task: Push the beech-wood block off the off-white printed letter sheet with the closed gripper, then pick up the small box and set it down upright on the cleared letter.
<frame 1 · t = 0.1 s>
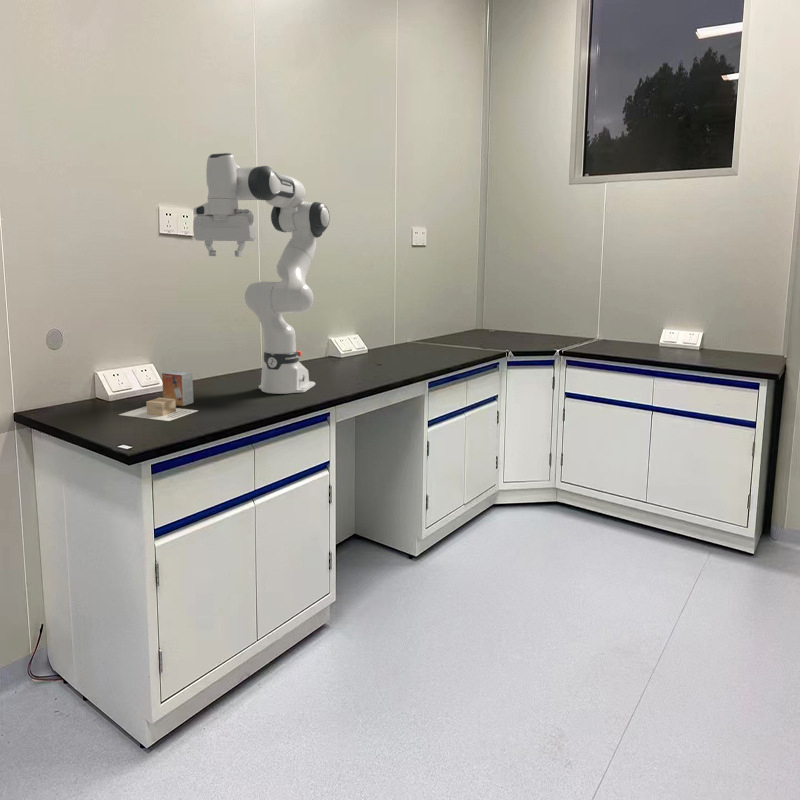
hand: (225, 256, 200), 48 cm above the worktop, fingers open, 8 cm apart
letter: (159, 413, 204), on the worktop
small box: (178, 404, 217), on the worktop
beech block: (161, 412, 203), resting on letter
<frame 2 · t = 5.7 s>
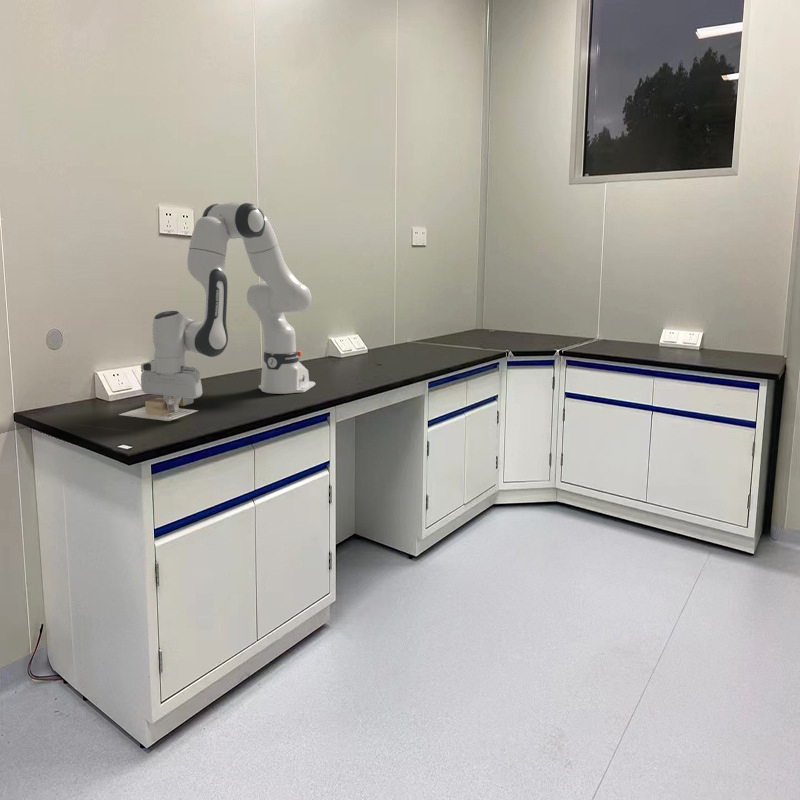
hand: (173, 409, 201), 2 cm above the worktop, fingers closed
beech block: (160, 412, 203), resting on letter, touching gripper
everything else where it was.
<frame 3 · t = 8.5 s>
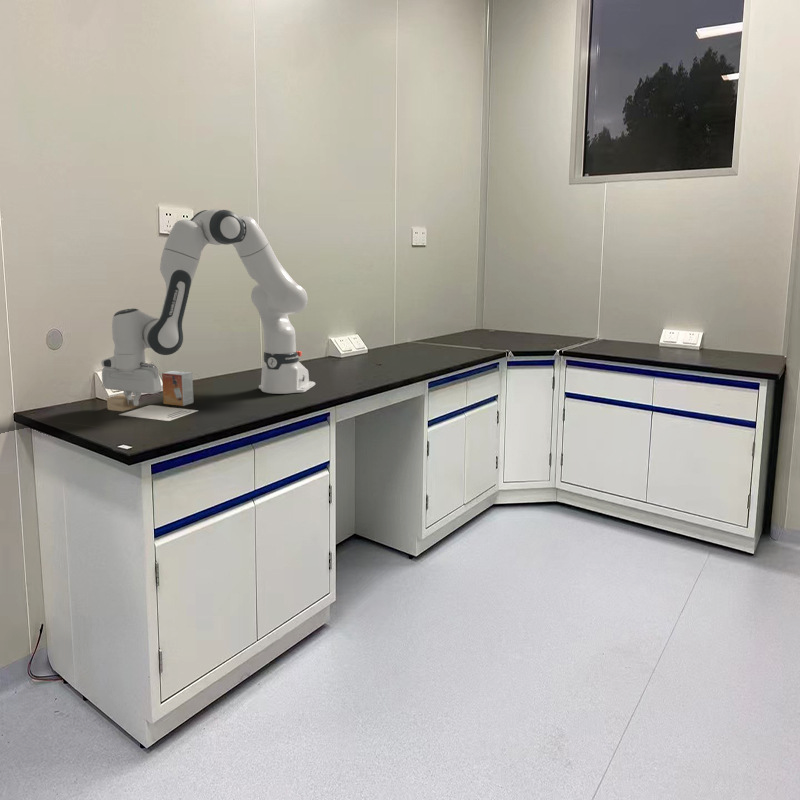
hand: (133, 405, 206), 2 cm above the worktop, fingers closed
beech block: (122, 409, 208), on the worktop, touching gripper
everything else where it was.
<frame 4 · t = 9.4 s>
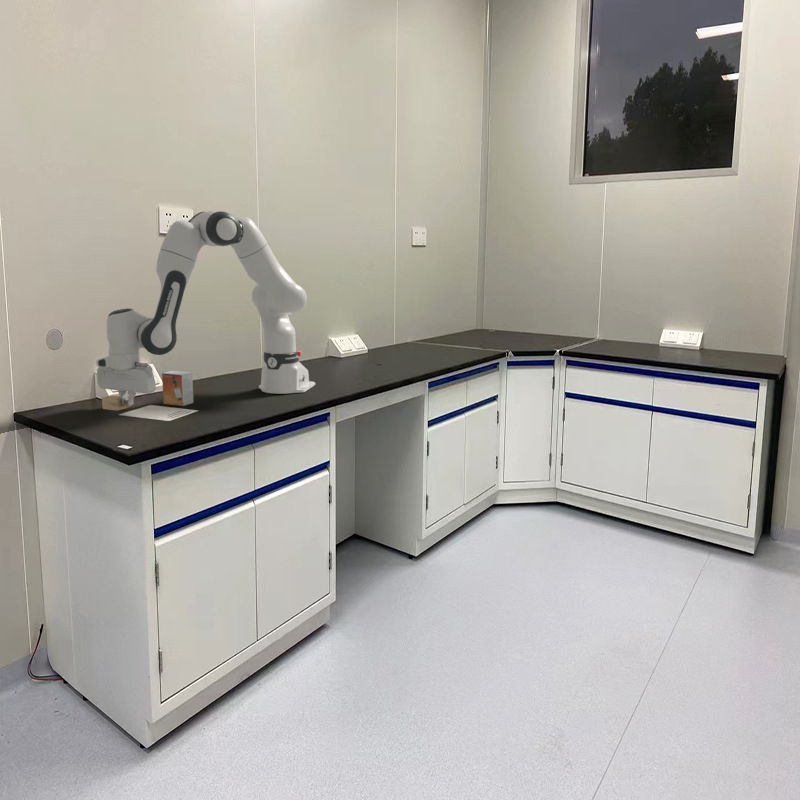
hand: (128, 404, 207), 2 cm above the worktop, fingers closed
beech block: (117, 409, 209), on the worktop, touching gripper
everything else where it was.
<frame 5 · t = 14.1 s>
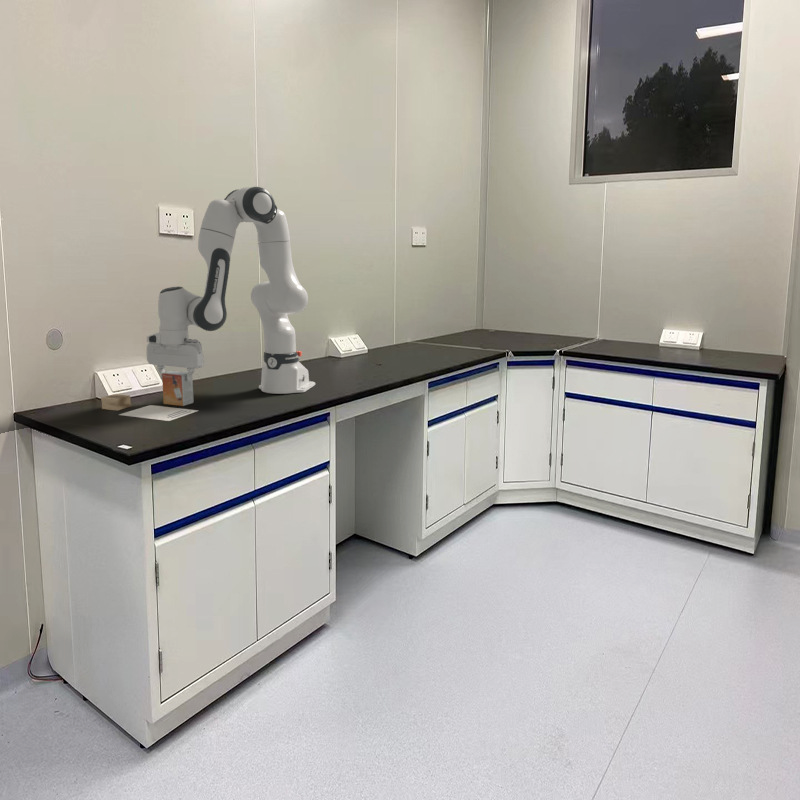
hand: (176, 379, 214), 8 cm above the worktop, fingers open, 8 cm apart
beech block: (116, 408, 209), on the worktop
everything else where it was.
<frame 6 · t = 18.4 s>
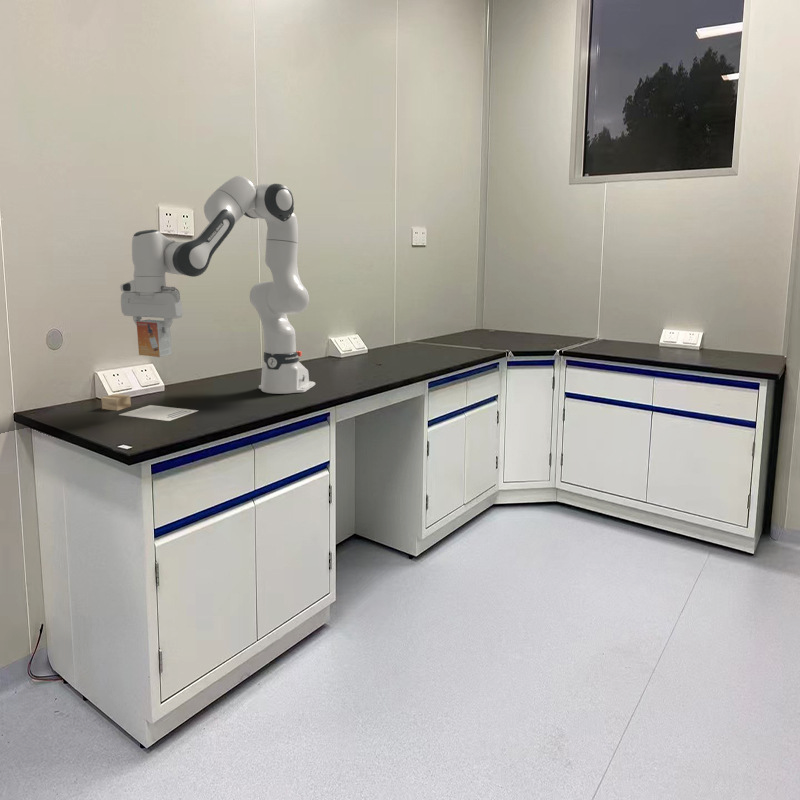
hand: (153, 332, 198), 25 cm above the worktop, fingers closed on small box, 8 cm apart
small box: (155, 355, 200), point 18 cm above the worktop, touching gripper
everything else where it was.
when the fingers open (9 cm above the worktop, at t = 21.9 s): small box drops 2 cm, resting on letter.
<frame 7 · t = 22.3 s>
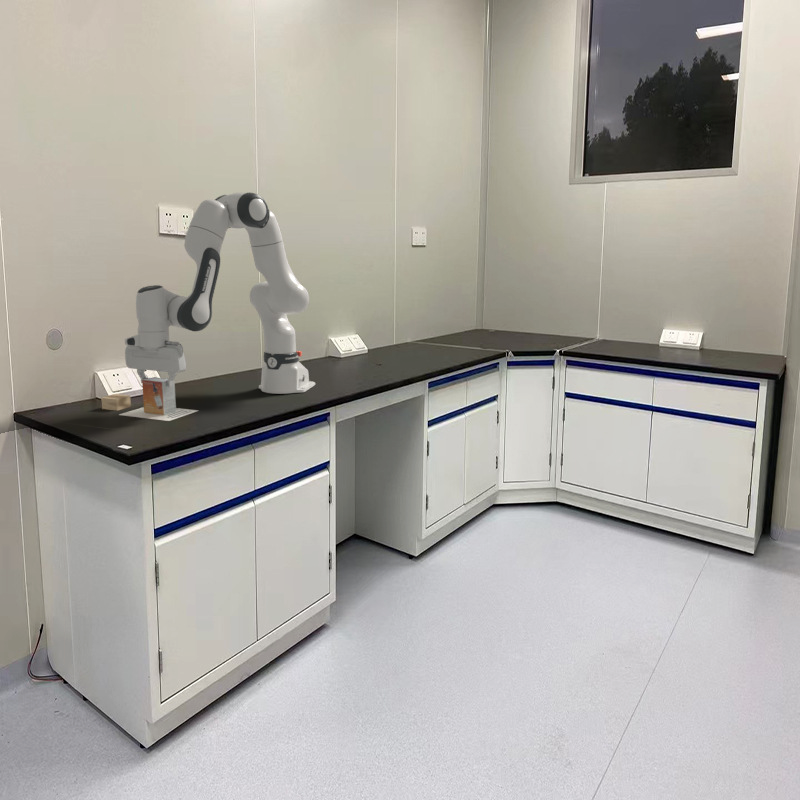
hand: (157, 384, 202), 9 cm above the worktop, fingers open, 8 cm apart
small box: (160, 412, 204), resting on letter, touching gripper
everything else where it was.
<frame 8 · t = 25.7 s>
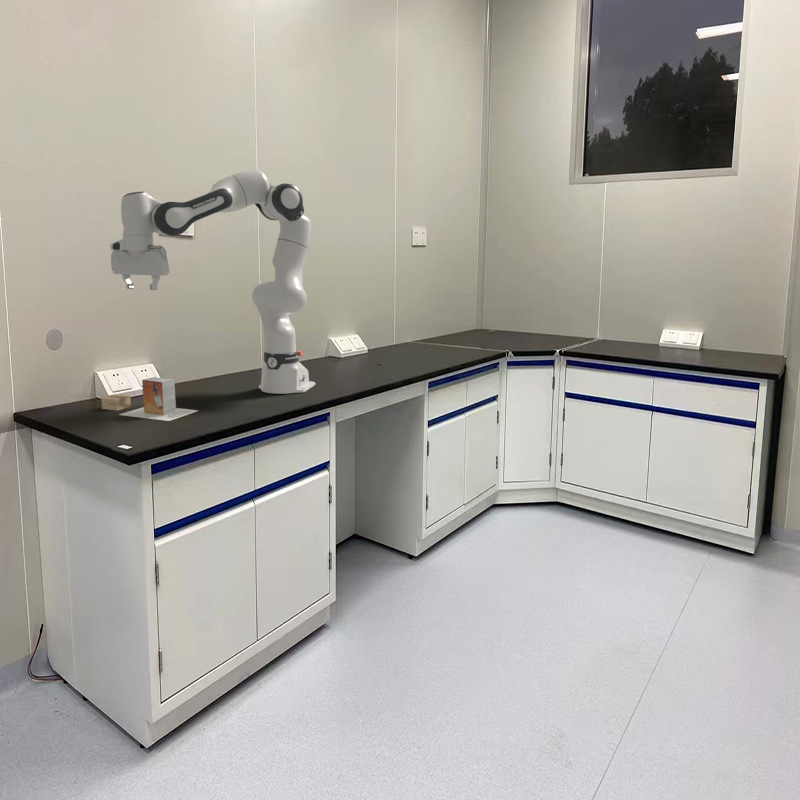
hand: (141, 289, 210), 37 cm above the worktop, fingers open, 8 cm apart
small box: (160, 412, 204), resting on letter
everything else where it was.
at the end: small box 0.5 cm from the letter (horizontally); small box tilted 0°; beech block touching worktop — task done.
